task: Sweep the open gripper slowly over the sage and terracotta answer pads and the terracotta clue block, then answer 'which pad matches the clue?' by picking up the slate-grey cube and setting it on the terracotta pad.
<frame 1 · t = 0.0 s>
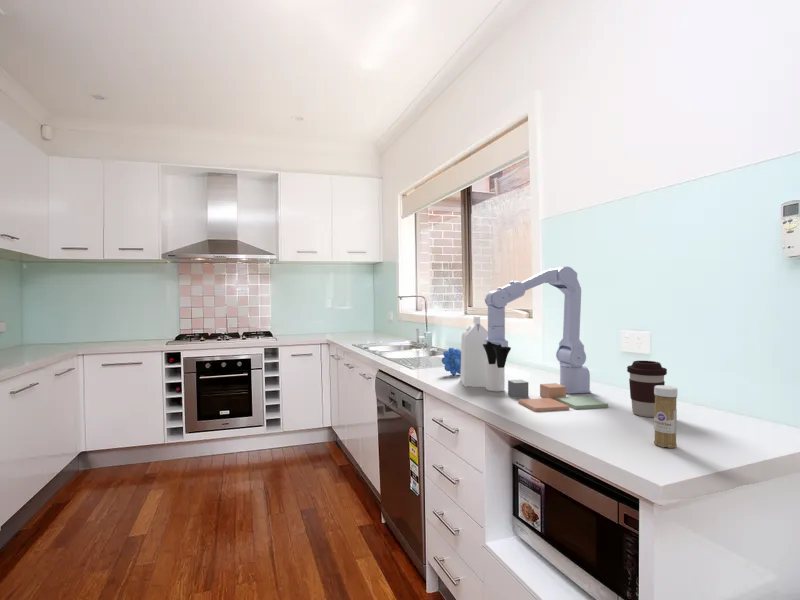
hand: (496, 365, 155), 10 cm above the worktop, fingers open, 7 cm apart
grapes: (455, 375, 193), on the worktop
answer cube: (518, 395, 154), on the worktop
sprinkles bottle: (665, 446, 103), on the worktop
milk: (477, 383, 176), on the worktop
terracotta pad: (543, 406, 140), on the worktop
clue block: (552, 397, 151), on the worktop
coffee cup: (646, 415, 130), on the worktop
can: (495, 390, 163), on the worktop
sage pad: (581, 403, 142), on the worktop
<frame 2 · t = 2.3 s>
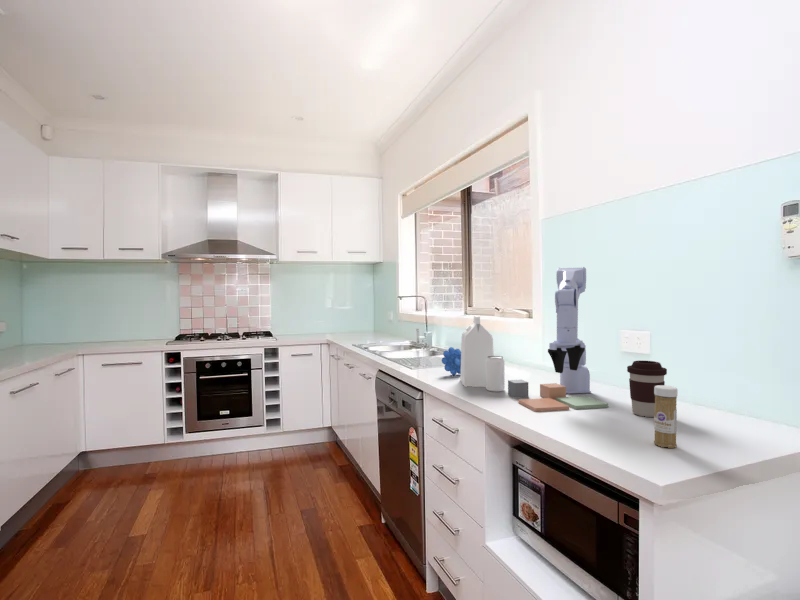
hand: (566, 371, 141), 10 cm above the worktop, fingers open, 7 cm apart
nothing on the worktop moved.
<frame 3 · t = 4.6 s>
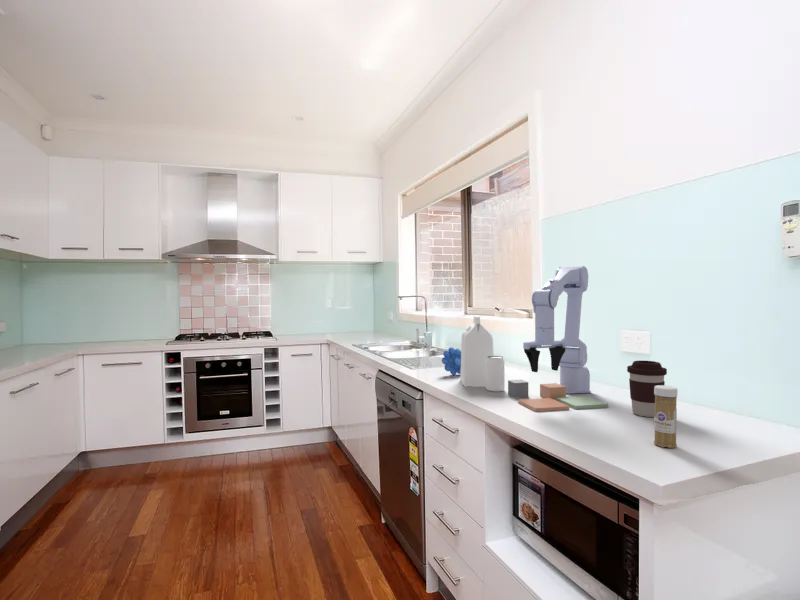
hand: (544, 371, 142), 10 cm above the worktop, fingers open, 7 cm apart
nothing on the worktop moved.
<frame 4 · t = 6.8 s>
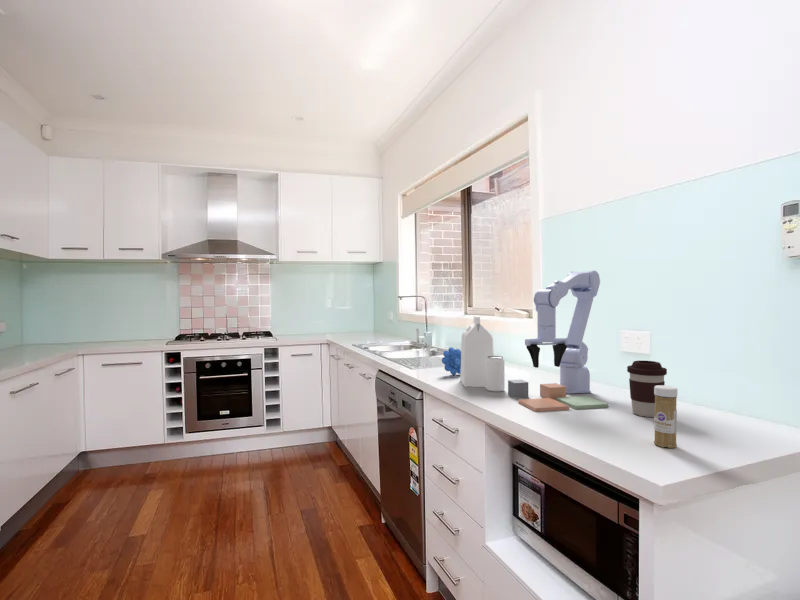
hand: (546, 366, 150), 10 cm above the worktop, fingers open, 7 cm apart
nothing on the worktop moved.
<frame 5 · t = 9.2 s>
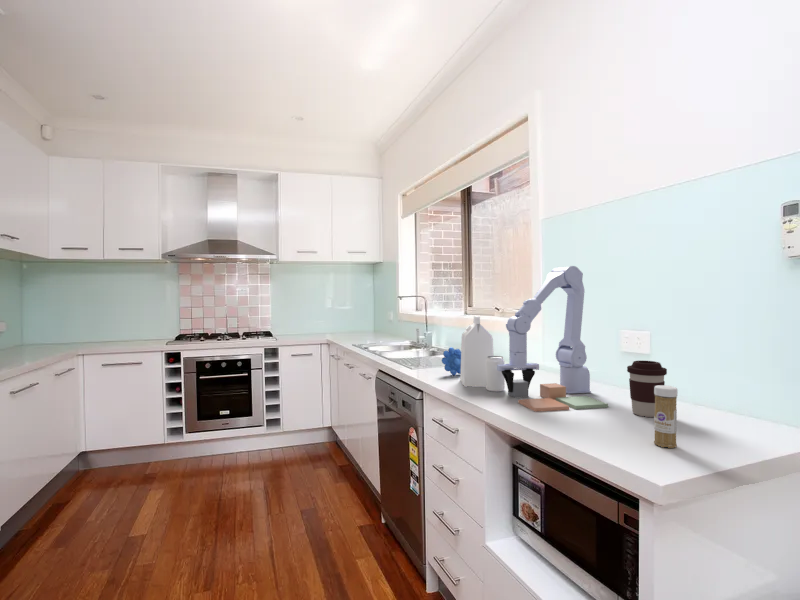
hand: (518, 391, 154), 1 cm above the worktop, fingers closed on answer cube, 5 cm apart
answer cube: (518, 395, 154), on the worktop, touching gripper
everything else where it was.
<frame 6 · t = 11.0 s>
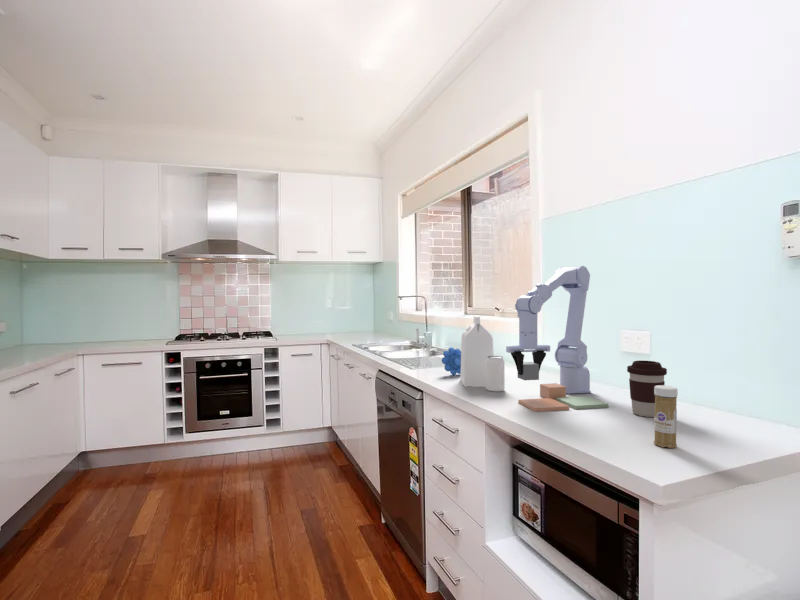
hand: (528, 374, 148), 8 cm above the worktop, fingers closed on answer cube, 5 cm apart
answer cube: (528, 378, 148), point 7 cm above the worktop, touching gripper
everything else where it was.
when the fingers open (4 cm above the worktop, at t = 13.0 s): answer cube drops 1 cm, resting on terracotta pad.
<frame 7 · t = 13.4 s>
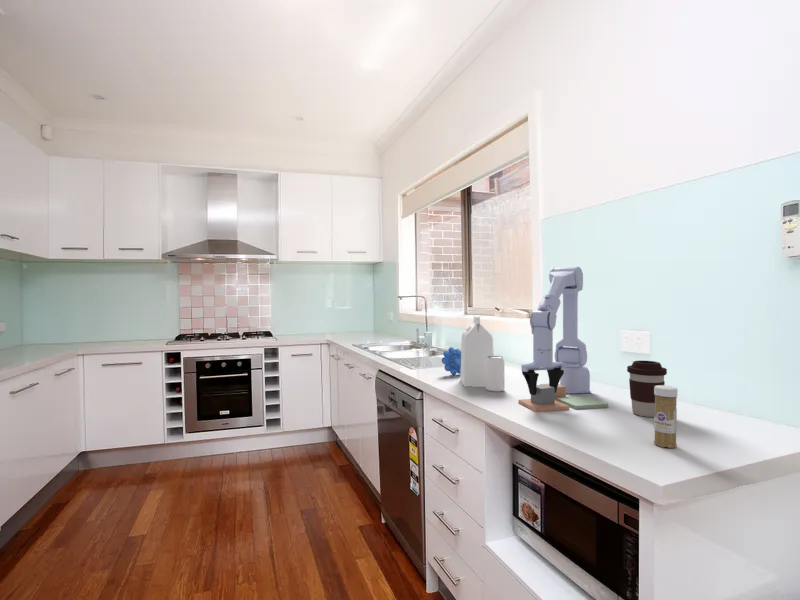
hand: (543, 393, 140), 4 cm above the worktop, fingers open, 7 cm apart
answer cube: (542, 402, 140), point 1 cm above the worktop, touching terracotta pad
everything else where it was.
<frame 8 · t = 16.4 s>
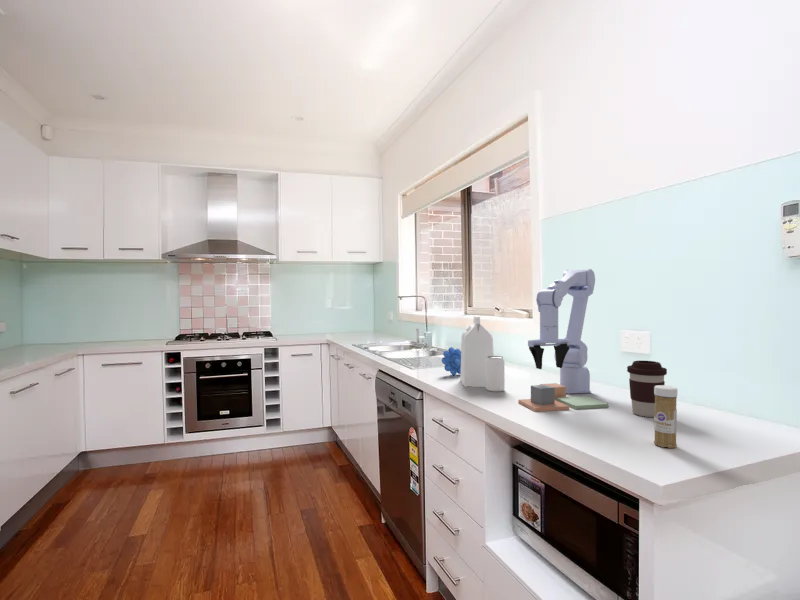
hand: (549, 368, 148), 10 cm above the worktop, fingers open, 7 cm apart
nothing on the worktop moved.
at the end: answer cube inside the target area on the terracotta pad (0.2 cm from its centre), point 1.0 cm above the terracotta pad's base; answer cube tilted 0°; the gripper is holding nothing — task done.
